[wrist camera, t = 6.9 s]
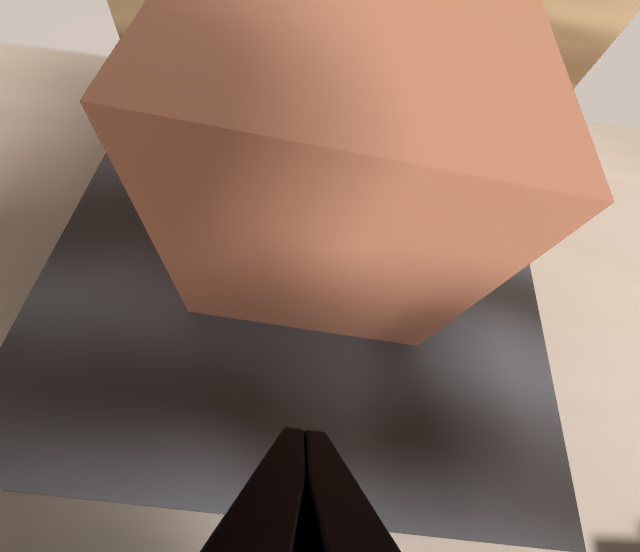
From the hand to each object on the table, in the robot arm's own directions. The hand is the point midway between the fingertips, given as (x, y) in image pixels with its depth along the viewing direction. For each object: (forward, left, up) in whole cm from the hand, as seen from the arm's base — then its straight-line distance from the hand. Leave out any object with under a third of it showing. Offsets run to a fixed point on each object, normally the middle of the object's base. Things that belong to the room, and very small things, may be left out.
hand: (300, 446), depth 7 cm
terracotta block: (+5, -7, -4) cm, 10 cm away
